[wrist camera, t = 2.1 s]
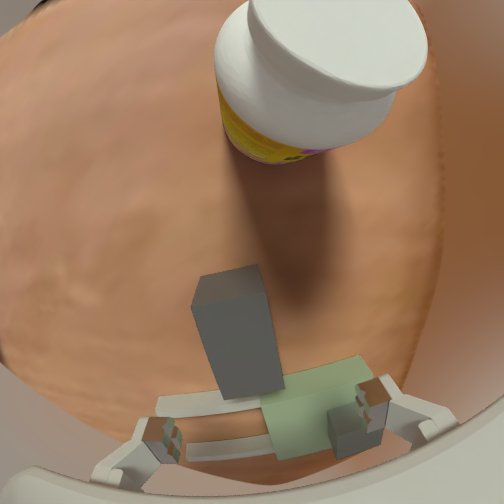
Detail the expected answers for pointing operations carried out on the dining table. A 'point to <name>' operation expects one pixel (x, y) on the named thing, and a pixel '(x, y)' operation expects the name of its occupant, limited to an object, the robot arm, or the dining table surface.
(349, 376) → the two-prong power plug
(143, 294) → the dining table surface
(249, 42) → the supplement bottle
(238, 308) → the grey rectangular block
